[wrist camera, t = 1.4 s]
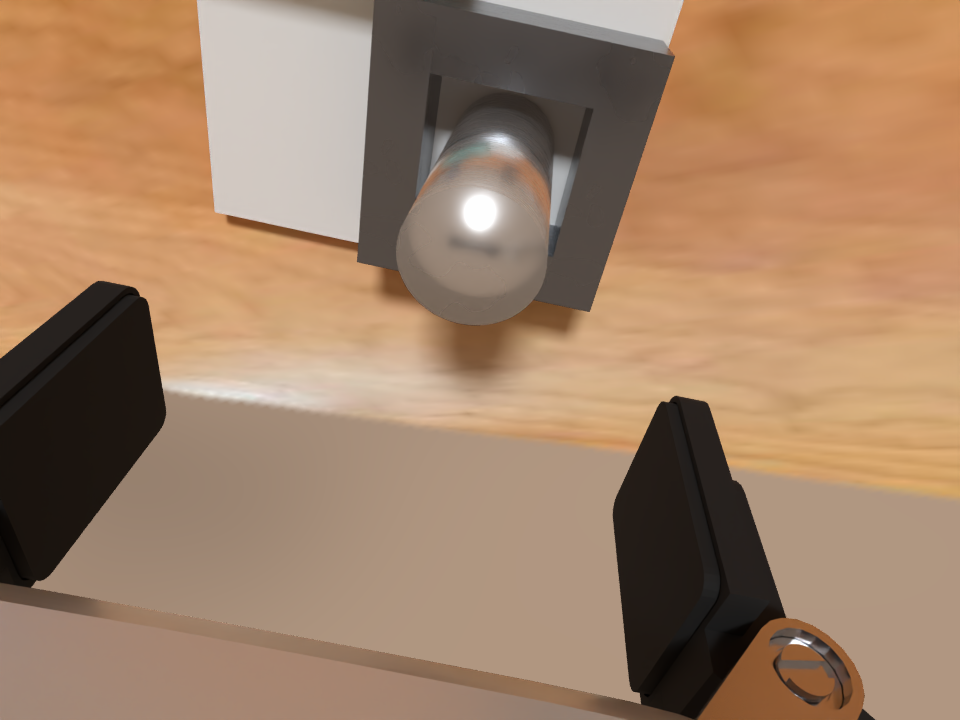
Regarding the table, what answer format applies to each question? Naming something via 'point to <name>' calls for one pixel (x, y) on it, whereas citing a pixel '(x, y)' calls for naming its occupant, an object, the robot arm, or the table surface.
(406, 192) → the holder block
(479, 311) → the silver metal cylinder
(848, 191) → the table surface
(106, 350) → the robot arm
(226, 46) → the docking plate
